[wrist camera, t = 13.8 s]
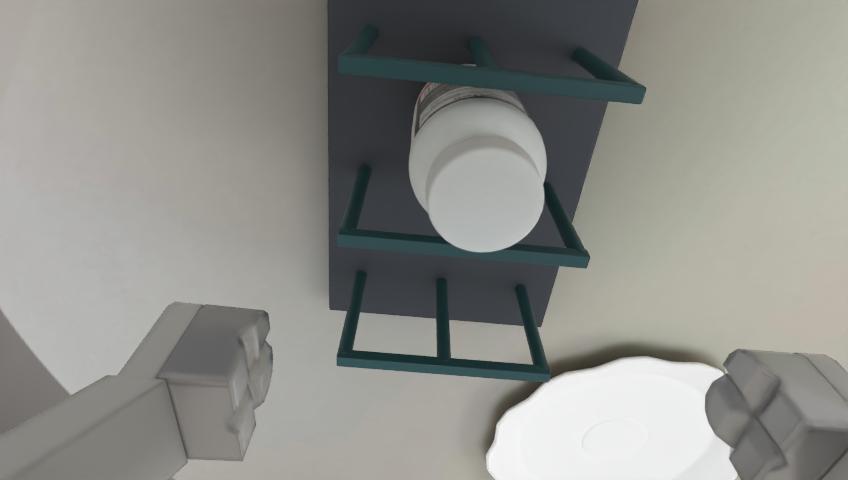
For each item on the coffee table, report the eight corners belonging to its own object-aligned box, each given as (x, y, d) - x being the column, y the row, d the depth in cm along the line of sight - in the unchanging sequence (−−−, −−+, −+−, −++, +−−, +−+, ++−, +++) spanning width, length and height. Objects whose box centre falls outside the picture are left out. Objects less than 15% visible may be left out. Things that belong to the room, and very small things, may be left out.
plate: (450, 386, 36) (451, 404, 35) (742, 309, 32) (756, 326, 31) (524, 526, 46) (527, 544, 45) (754, 481, 42) (765, 500, 41)
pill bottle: (505, 172, 26) (540, 279, 18) (407, 158, 26) (395, 260, 17) (531, 70, 23) (587, 139, 15) (421, 53, 23) (416, 114, 14)
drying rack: (331, -47, 22) (282, -45, 15) (632, -13, 22) (729, 6, 15) (332, 298, 32) (303, 400, 25) (537, 315, 33) (568, 420, 25)
